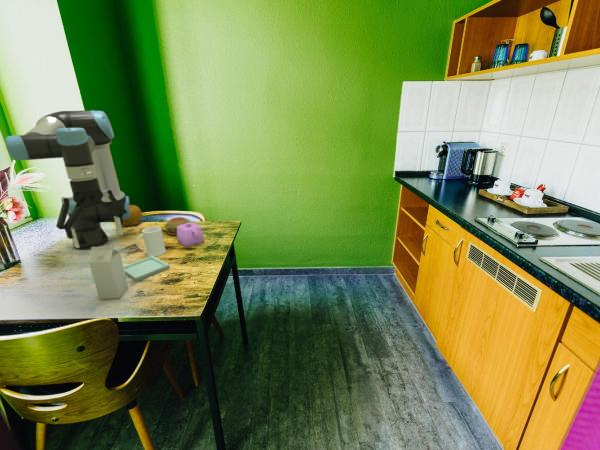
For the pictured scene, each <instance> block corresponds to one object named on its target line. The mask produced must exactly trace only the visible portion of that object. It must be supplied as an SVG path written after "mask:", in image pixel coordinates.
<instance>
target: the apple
mask: <svg viewBox="0 0 600 450" xmlns="http://www.w3.org/2000/svg"><path fill="white" fill-rule="evenodd" d="M129 208H130V217H129V218H128V219H123V223H124V224H123V225H126V226H136V225H138V224H139V223H140V221H141V218H142V210H141V208H140V207H139V206H137V205H135V204H134V205H132V204H129Z"/></svg>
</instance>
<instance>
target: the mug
mask: <svg viewBox="0 0 600 450" xmlns="http://www.w3.org/2000/svg"><path fill="white" fill-rule="evenodd" d="M141 232H142V233H141V234H140V235H138V237H137V238H136V241H135V244H136V247H137V248H138V249H139V250H141V251H145V252H146V257H150V256H154V257H159V256H161V255H164V254H166V252H167V249H166V246H165V240H164V235H163V231H162V226H158V225H156V226H155V225H154V226H149V227H145V228H143V229H142V230H141ZM141 237H142V238H143V241H144V247H143V248H142V247H140V246H139V243H138V241H139V239H140V238H141Z"/></svg>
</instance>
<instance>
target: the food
mask: <svg viewBox="0 0 600 450" xmlns="http://www.w3.org/2000/svg"><path fill="white" fill-rule="evenodd" d="M191 222H192V220H189V219H187V218H185V217H183V216H182V217H181V216H178V217H173V218H170V219H168V221H167V222H166V223H165V225H164V228H165V230H166V232H167V234H168V235H170V236H177V226H179V225H180V224H186V223H191Z"/></svg>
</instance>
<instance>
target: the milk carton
mask: <svg viewBox="0 0 600 450" xmlns="http://www.w3.org/2000/svg"><path fill="white" fill-rule="evenodd" d="M88 265H89V268H90V271H91V275H92V277H93V278H92V279H93V282H94V286H95V289H96V293H97V295H98V299H99V300H108V299H120V298H121V297H122V296H123V294H124V293H126V291H127V290H128V288H129V283H128V281H127V277H126V276H127V275H125V271H124V267H123V266H124V264H123V260H122V255H121V251H119V250H117V249H115V248H114V246H113V245H108V246H107V245H105V246H104V245H102V246H99V247H91V251H90V256H89V260H88Z"/></svg>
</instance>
